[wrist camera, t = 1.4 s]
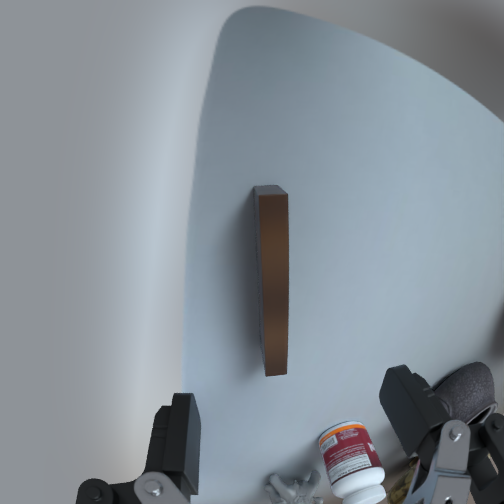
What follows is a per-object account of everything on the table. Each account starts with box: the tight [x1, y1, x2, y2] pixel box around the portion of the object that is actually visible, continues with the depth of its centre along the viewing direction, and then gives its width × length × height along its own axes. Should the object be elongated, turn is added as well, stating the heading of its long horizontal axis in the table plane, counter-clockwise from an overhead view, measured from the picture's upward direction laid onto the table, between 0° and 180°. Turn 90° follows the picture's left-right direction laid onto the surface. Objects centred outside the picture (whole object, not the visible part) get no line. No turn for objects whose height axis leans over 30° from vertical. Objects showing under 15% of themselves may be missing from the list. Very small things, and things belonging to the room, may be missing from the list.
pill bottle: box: [319, 421, 386, 504], centre depth 24 cm, size 6×6×11 cm
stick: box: [253, 185, 289, 377], centre depth 19 cm, size 13×2×4 cm, turn 3°
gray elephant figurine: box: [264, 470, 323, 504], centre depth 31 cm, size 9×12×8 cm
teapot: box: [434, 362, 498, 425], centre depth 26 cm, size 19×15×10 cm
